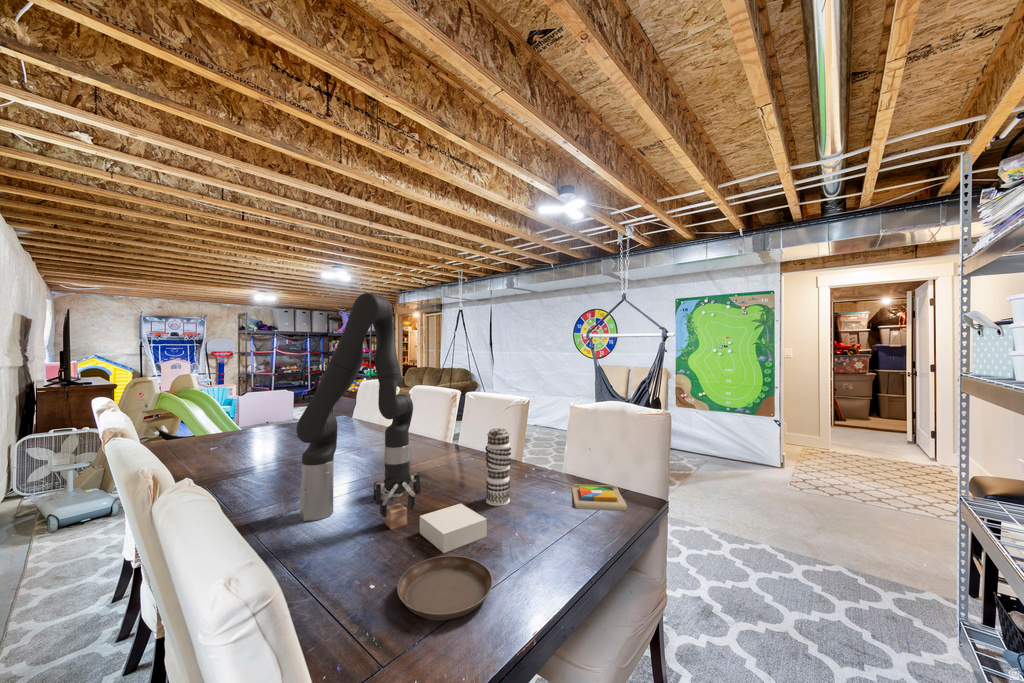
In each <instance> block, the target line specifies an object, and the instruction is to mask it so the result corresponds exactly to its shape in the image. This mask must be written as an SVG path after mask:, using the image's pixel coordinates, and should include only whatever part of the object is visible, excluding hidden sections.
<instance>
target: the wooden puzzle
mask: <svg viewBox="0 0 1024 683" xmlns="http://www.w3.org/2000/svg"><path fill="white" fill-rule="evenodd" d="M571 492H572V498H573V504H574V507H575V508H576V509H579V510H594V511H595V510H599V511H601V510H602V511H603V510H604V511H616V512H617V511H620V512H625V511H626V510H627V507H628V505H627V503H626V500H625V499H624V498H623V496H622V495H621V493H620V491H619V488H618V487H617V486H615V485H607V484H606V485H603V484H602V485H601V484H600V485H599V484H577V483H575V484H573V485H572V487H571Z"/></svg>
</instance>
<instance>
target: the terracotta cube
mask: <svg viewBox="0 0 1024 683" xmlns="http://www.w3.org/2000/svg"><path fill="white" fill-rule="evenodd" d="M384 524H385V525H386V526H387V527H388V528H389V529H390V530H393V529H397V528H400V527H404V526H406V525H408V507H406V506H405V505H404V504H402V503H395V504H392V505H387V517H384Z"/></svg>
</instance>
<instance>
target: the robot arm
mask: <svg viewBox="0 0 1024 683" xmlns="http://www.w3.org/2000/svg"><path fill="white" fill-rule="evenodd" d="M348 315H349V316H348V318H347V319H348V320H347V322H346V325H345V327H344V330H343V331H342V334H341V336H340V339H339V341H338V343H337V344H336V345H337V346H336V348H335V350H334V352H333V353H332V356H331V357H330V360H329V362H328V364H327V366H326V368H325V370H324V373H323V376H322V378H321V380H320V381H319V383H318V385H317V387H316V390H315V392H314V394H313V395H312V398H311V399H310V401H309V403H308V405H307V406H306V408H305V409H304V411H303V413H302V415H301V416H300V418H299V419H298V420H297V424H296V430H295V431H296V436H297V438H298V439H299V440H300V441H301V442H302V443H304V444H305V443H306V444H309V445H308V447H307V448H306V450H305V451H303V453H302V455H301V485H300V486H299V516H300V518H301V520H302V521H303V522H308V521H319V520H323V519H326V518H329V517H330V516H331V515H333V513H334V470H335V469H334V466H335V465H334V464H335V463H334V460H335V458H334V457H335V453H336V451H337V443H338V421H337V420H338V419H337V418H336V416H335V414H334V413H333V412H332V410H333V408H334V407H335V406H336V404H337V403H338V401H340V399H341V398H342V397H344V395H345V394H346V393H347V392H348V390H349V389H350V388H351V387H352V386H353V384H354V382H355V381H356V379H357V376H358V374H359V373H360V370H361V368H362V365H363V361H364V342H365V339H366V335H367V334H368V332H369V331H370V330H369V329H370V327H371V326H372V327H373V330H374V333H375V338H376V346H375V352H374V366H375V372H376V377H377V381H378V403H377V404H378V410H379V412H380V414H381V416H382V417H383V418H384V419H386V420H392V422H391V424H390V425H389V426H388V427H386V429H385V431H384V454H383V456H384V457H383V462H384V467H383V472H384V471H385V480H383V482H374V484H373V496H372V498H373V500H372V502H373V503H374V504H376V506H379V514H380V515H381V516H382V518H385V517H387V507H388V505H387V503H388V501H389V500H390V499H391V498H392V497H391V496H392V495H393V494H394V495H395V494H397V493H402V492H403V493H404V492H406V493H407V494H408V496H407V509H410V510H413V509H414V507H415V505H416V503H415V497H416V496H417V495H418V494H420V493H421V478H420V477H421V476H420V474H418V473H416V472H414V473H412V474H411V460H410V458H411V457H410V455H411V454H410V453H411V452H410V445H409V444H410V442H409V441H410V438H409V436H410V434H409V429H410V426H411V422H412V417H413V412H414V403H413V400H412V398H411V397H410V395H408V394H406V393H397V390H398V388H397V387H400V386H401V384H402V383H403V376H402V372H401V368H400V367H401V366H400V363H399V360H398V354H397V348H396V339H395V330H394V329H395V328H394V313H393V307H392V304H391V302H390V300H389V299H388V298H386V297H384V296H381V295H378V294H374V293H371V292H364V293H362V294H360V295H359V296H357V298H356V299H355V301H354V303H353V305H352V307H351V310H350V313H349V314H348ZM411 482H412V486H413V487H412V488H413V489H412V488H411V487H410V485H409V484H410V483H411ZM383 488H384V490H383ZM382 490H383V492H382ZM381 492H382V494H381ZM388 492H389V493H388Z"/></svg>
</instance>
